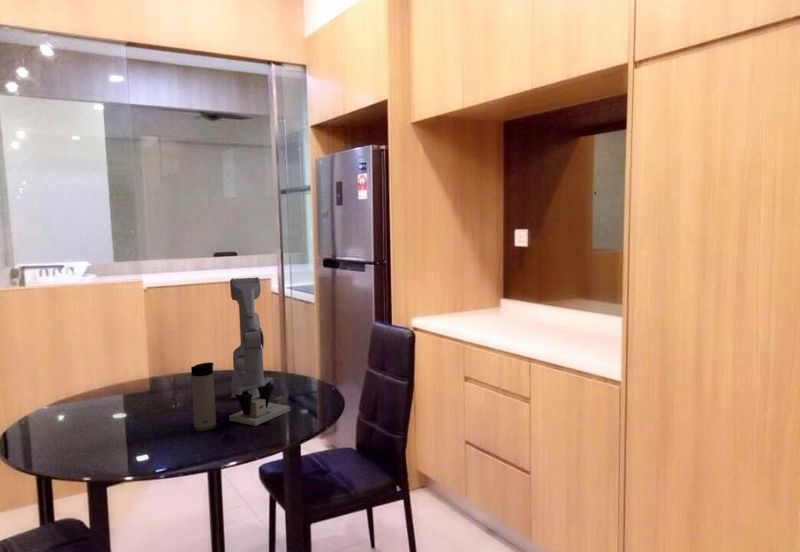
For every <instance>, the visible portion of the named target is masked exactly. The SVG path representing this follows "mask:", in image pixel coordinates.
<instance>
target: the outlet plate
mask: <svg viewBox="0 0 800 552" xmlns="http://www.w3.org/2000/svg"><path fill="white" fill-rule="evenodd" d="M289 412H291V406H290V405H286V404H285V405H284V404H274V403H273V402H272V403H268V407H267V408H266V413H265V414H263V415H261V416H258V417H252V416H248V415H244V413H243V410H240V411H238V412H235V413H234V414H231V415H229V416H228V417H229V419H228V421H230V422H236V423H240V424H244V425H251V426H255V427H256V426H258V425H260V424H263V423H265V422H268V421H270V420H272V419H274V418H277V417H279V416H282V415H283V414H285V413H289Z"/></svg>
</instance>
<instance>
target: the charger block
mask: <svg viewBox="0 0 800 552" xmlns="http://www.w3.org/2000/svg"><path fill="white" fill-rule="evenodd" d="M259 398H260V397H257V398H254V399H252V400H251V413H250V415H249V416H252V417H258V416H261V415H263V414H265V413H266V402H265V399H259Z"/></svg>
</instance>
